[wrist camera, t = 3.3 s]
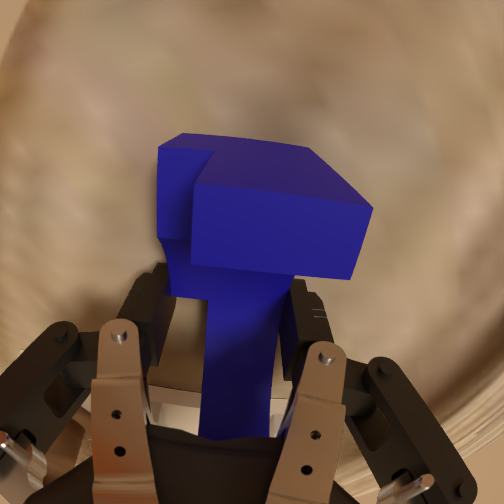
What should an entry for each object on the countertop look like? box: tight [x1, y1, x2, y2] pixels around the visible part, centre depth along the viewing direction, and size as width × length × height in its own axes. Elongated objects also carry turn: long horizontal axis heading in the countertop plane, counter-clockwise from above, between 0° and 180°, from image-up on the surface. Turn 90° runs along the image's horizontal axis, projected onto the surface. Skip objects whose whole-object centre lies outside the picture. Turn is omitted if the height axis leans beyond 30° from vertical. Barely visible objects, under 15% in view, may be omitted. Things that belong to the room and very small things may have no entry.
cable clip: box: [157, 133, 373, 441], centre depth 10 cm, size 12×4×6 cm, turn 173°
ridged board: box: [15, 349, 288, 441], centre depth 18 cm, size 20×12×3 cm, turn 82°
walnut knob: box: [43, 407, 91, 487], centre depth 14 cm, size 6×6×9 cm
